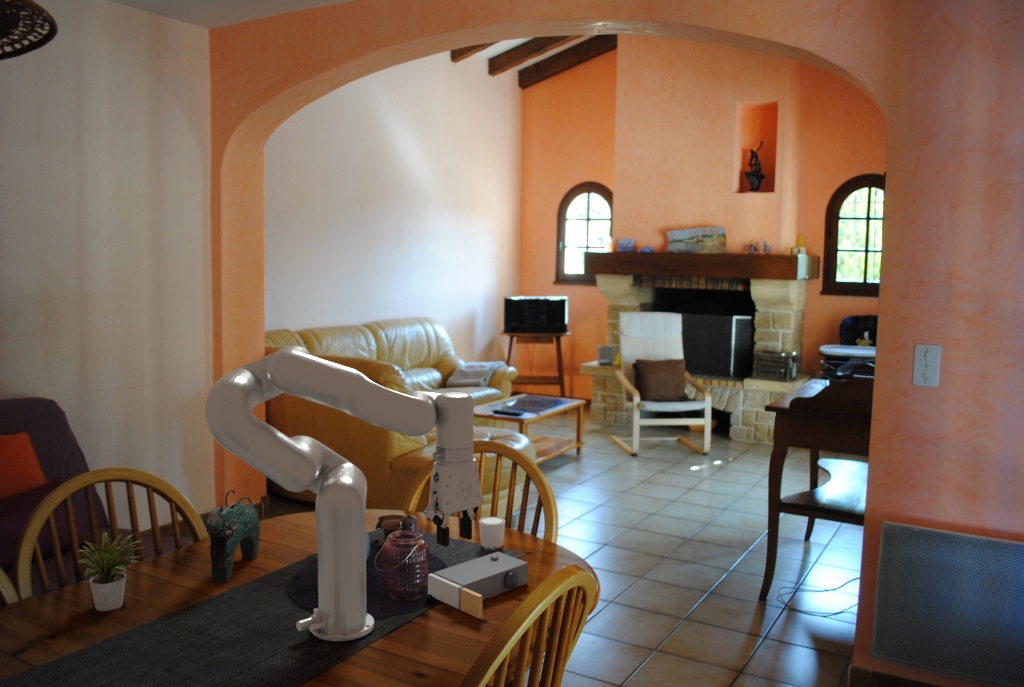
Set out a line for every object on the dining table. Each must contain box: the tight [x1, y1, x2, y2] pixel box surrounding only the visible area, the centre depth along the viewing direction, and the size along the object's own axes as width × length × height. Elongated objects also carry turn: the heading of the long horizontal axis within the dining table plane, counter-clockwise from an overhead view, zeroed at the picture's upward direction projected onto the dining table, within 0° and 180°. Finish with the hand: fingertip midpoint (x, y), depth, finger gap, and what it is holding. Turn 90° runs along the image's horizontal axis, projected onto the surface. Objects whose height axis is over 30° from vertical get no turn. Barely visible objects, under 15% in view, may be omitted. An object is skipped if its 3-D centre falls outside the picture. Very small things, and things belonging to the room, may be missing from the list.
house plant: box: [77, 530, 146, 612], centre depth 180 cm, size 14×14×16 cm
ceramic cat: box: [206, 489, 261, 584], centre depth 203 cm, size 20×6×20 cm, turn 171°
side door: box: [427, 572, 483, 619], centre depth 183 cm, size 1×17×5 cm, turn 44°
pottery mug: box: [374, 514, 406, 543], centre depth 224 cm, size 12×10×8 cm
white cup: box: [478, 516, 506, 548], centre depth 221 cm, size 7×7×7 cm
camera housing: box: [433, 551, 529, 601], centre depth 192 cm, size 20×11×6 cm, turn 134°
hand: (454, 540), depth 173 cm, fingers open, 5 cm apart
